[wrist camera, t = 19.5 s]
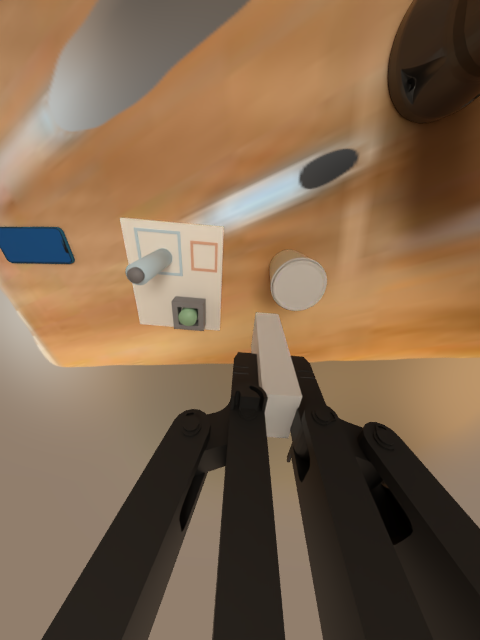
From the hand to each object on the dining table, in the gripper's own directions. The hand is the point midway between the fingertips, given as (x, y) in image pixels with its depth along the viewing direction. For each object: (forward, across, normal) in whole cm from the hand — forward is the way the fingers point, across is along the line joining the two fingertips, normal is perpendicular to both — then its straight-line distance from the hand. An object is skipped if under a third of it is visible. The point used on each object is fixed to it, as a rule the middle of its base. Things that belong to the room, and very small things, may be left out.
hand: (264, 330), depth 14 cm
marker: (+31, -18, -4) cm, 37 cm away
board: (+32, -16, -9) cm, 37 cm away
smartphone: (+33, -46, -4) cm, 57 cm away
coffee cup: (+33, +8, -4) cm, 34 cm away
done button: (+30, -13, -16) cm, 37 cm away
